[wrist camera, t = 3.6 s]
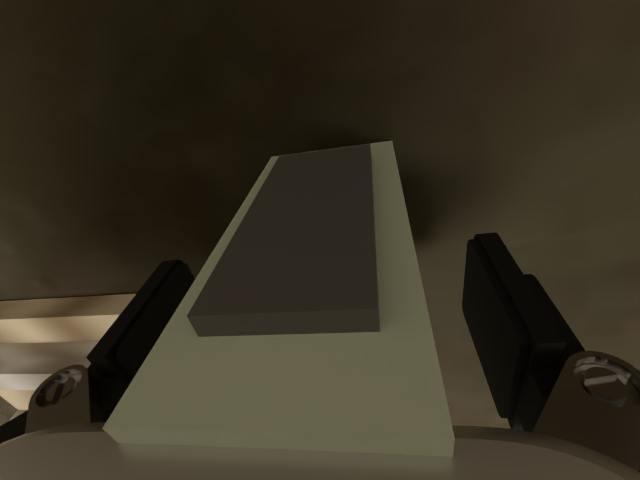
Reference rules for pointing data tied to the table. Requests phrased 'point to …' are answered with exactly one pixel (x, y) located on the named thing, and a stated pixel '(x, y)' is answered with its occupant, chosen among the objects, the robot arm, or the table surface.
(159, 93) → the table surface
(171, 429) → the pale green tall block
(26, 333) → the rail board
